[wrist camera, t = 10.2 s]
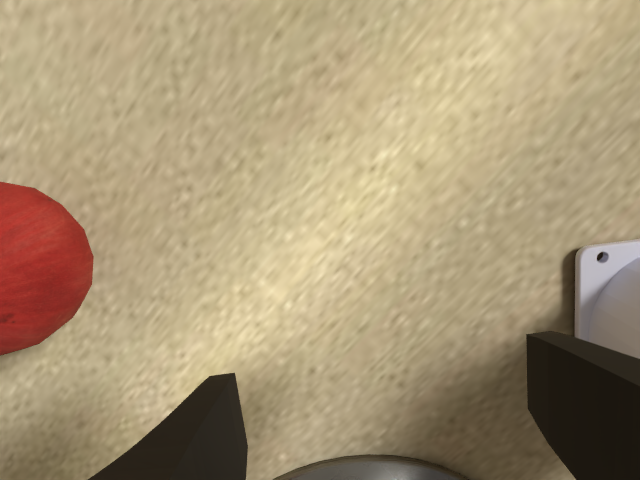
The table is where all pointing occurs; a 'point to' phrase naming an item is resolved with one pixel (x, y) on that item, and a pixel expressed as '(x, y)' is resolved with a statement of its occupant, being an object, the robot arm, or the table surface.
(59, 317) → the onion
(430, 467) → the disc with square hole
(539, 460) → the table surface
